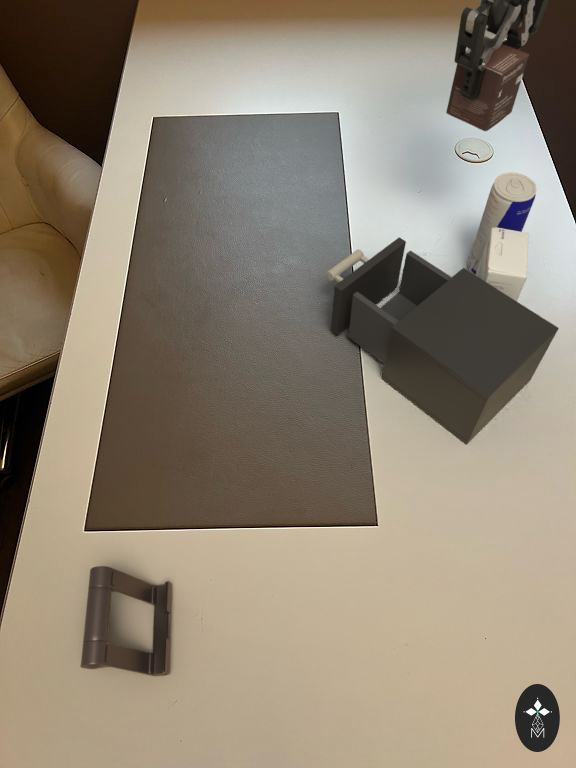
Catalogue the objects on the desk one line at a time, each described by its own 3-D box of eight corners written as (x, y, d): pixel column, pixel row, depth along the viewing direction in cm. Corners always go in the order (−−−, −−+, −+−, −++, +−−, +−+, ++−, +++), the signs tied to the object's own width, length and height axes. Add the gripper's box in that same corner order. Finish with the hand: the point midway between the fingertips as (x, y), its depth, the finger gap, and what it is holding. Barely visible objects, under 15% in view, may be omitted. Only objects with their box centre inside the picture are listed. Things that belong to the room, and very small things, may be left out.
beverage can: (480, 288, 90) (510, 204, 77) (459, 262, 93) (484, 178, 80) (512, 276, 91) (547, 192, 79) (491, 251, 94) (520, 166, 81)
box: (485, 134, 75) (502, 75, 69) (444, 114, 78) (457, 55, 72) (512, 112, 78) (531, 53, 72) (471, 94, 80) (486, 35, 74)
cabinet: (381, 379, 81) (391, 326, 72) (446, 322, 86) (463, 267, 77) (466, 445, 75) (488, 397, 67) (530, 380, 81) (559, 328, 72)
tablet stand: (171, 677, 61) (155, 660, 54) (90, 684, 61) (64, 668, 54) (173, 587, 66) (159, 561, 59) (98, 593, 66) (75, 568, 59)
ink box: (502, 340, 84) (529, 278, 75) (465, 333, 85) (487, 272, 75) (504, 293, 89) (530, 230, 79) (469, 288, 90) (490, 224, 80)
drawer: (308, 313, 86) (309, 267, 79) (368, 268, 91) (374, 221, 84) (401, 385, 79) (412, 342, 72) (461, 332, 84) (477, 286, 77)
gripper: (519, -45, 57) (474, 123, 70) (604, -88, 62) (547, 75, 76) (453, -69, 60) (423, 96, 74) (540, -109, 65) (496, 52, 79)
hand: (486, 85), depth 75 cm, fingers closed on box, 6 cm apart
